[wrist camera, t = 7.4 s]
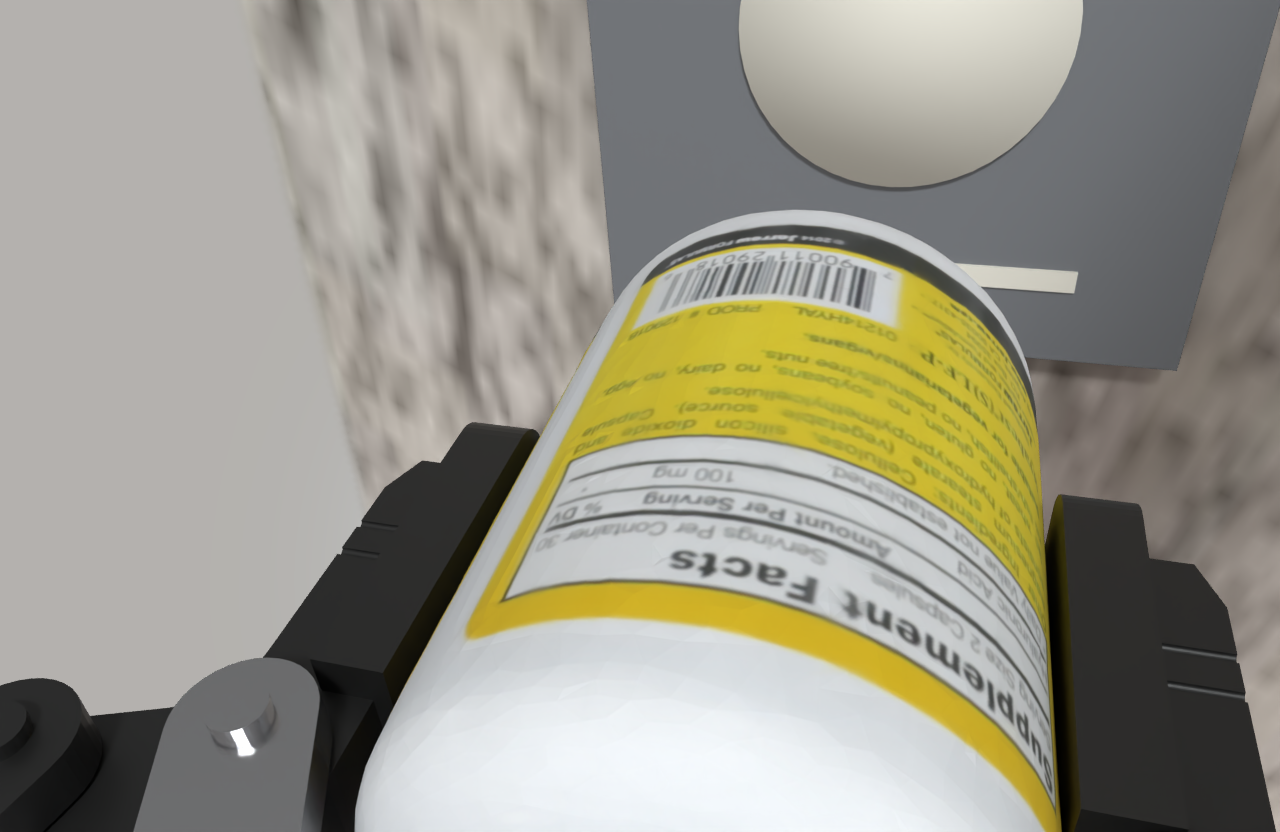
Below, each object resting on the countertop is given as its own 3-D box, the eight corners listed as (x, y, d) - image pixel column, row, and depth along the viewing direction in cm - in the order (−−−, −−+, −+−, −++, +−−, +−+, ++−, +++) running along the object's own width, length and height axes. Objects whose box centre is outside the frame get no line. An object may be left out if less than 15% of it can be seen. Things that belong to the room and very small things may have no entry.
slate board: (1405, -494, 19) (1426, -500, 18) (1172, 351, 29) (1178, 375, 29) (564, -413, 23) (546, -414, 22) (624, 304, 34) (614, 324, 33)
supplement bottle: (811, 606, 16) (629, 1537, 8) (529, 371, 14) (2, 1208, 7) (1142, 418, 12) (1355, 1691, 5) (810, 94, 11) (394, 1108, 4)
